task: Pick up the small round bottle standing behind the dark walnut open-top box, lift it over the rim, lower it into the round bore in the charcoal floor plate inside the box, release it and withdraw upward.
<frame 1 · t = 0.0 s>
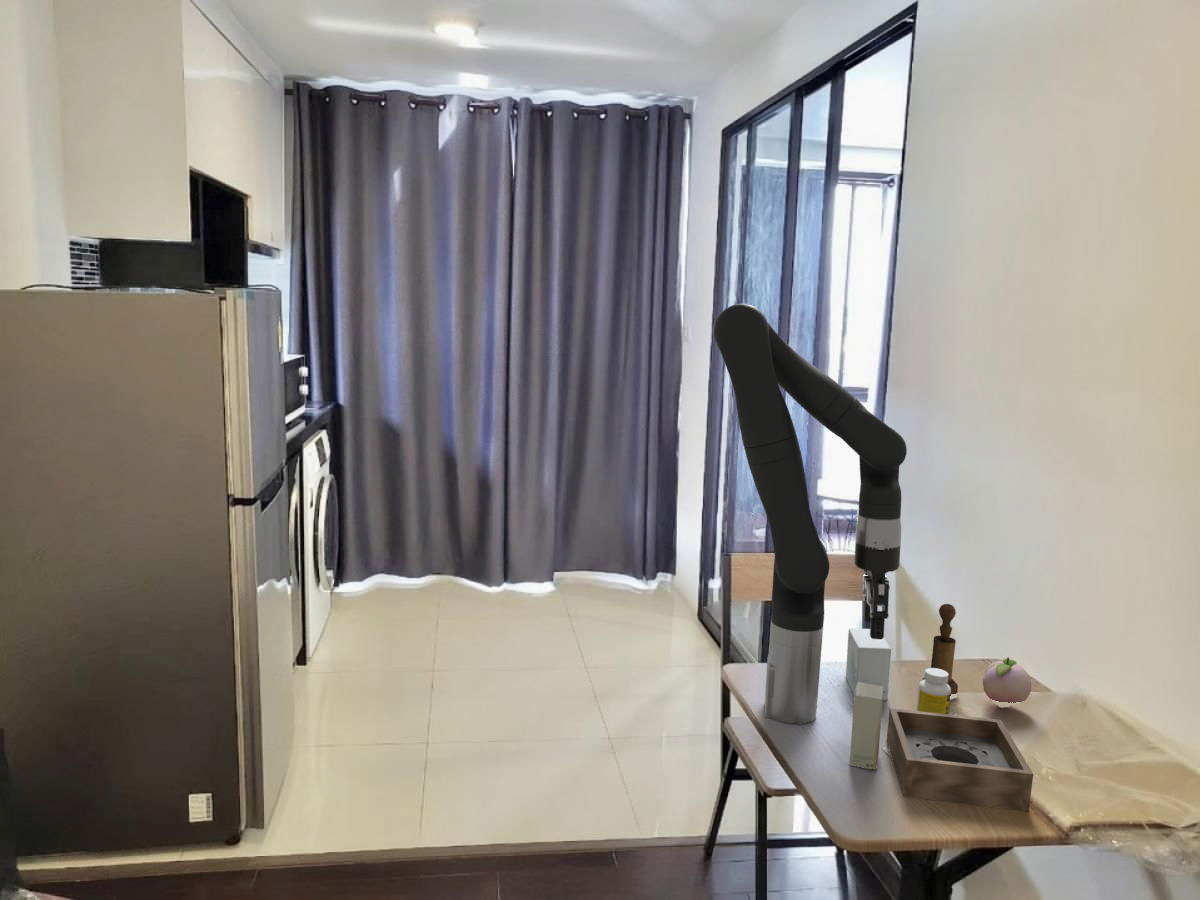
hand: (873, 629, 159), 17 cm above the table, tool pointing down, fingers open, 8 cm apart
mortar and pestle: (938, 694, 174), on the table
supplement bottle: (931, 724, 161), on the table
skincare box: (863, 761, 147), on the table
bore box: (952, 773, 144), on the table
skincare box 2: (865, 689, 176), on the table
decorative fruit: (1004, 709, 169), on the table
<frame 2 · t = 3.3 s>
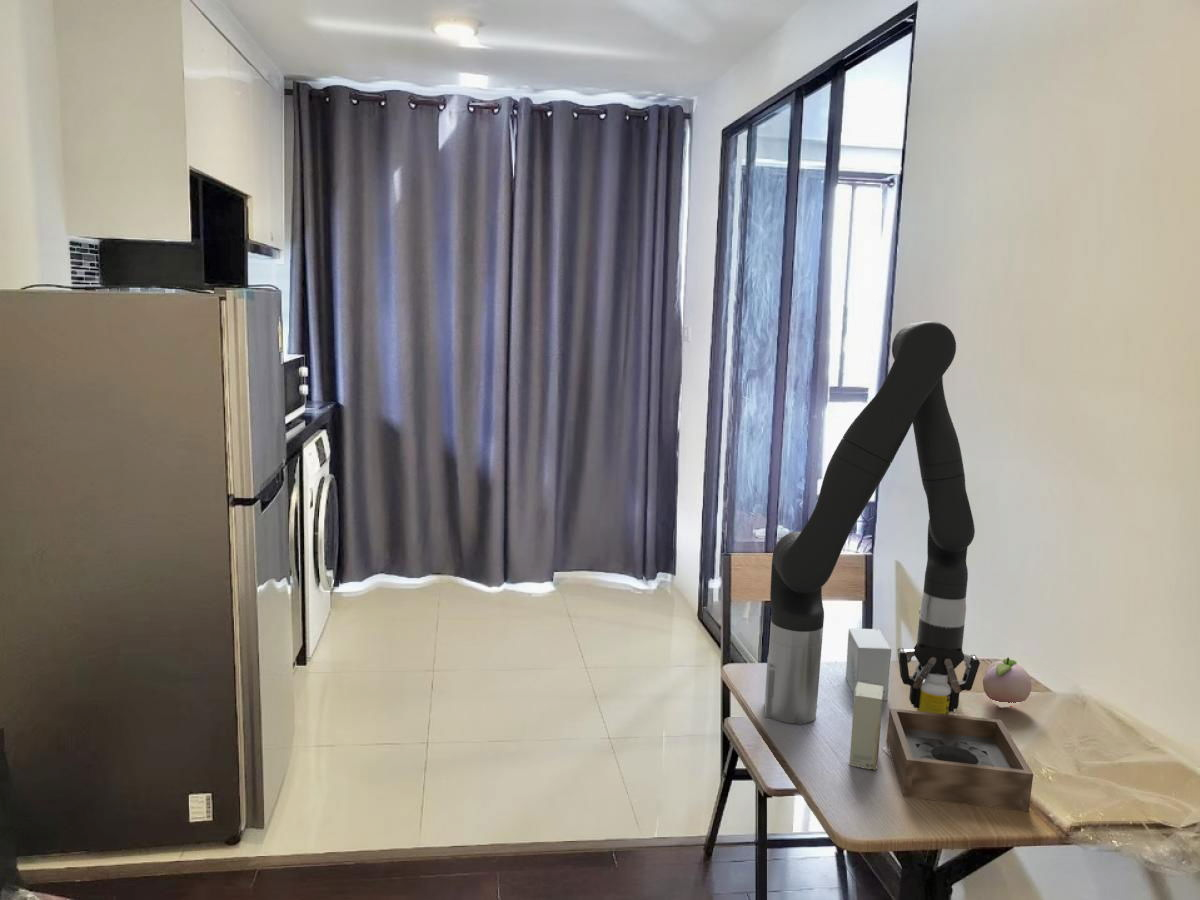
hand: (933, 707, 161), 3 cm above the table, tool pointing down, fingers closed on supplement bottle, 5 cm apart
supplement bottle: (931, 724, 161), on the table, touching gripper
everything else where it was.
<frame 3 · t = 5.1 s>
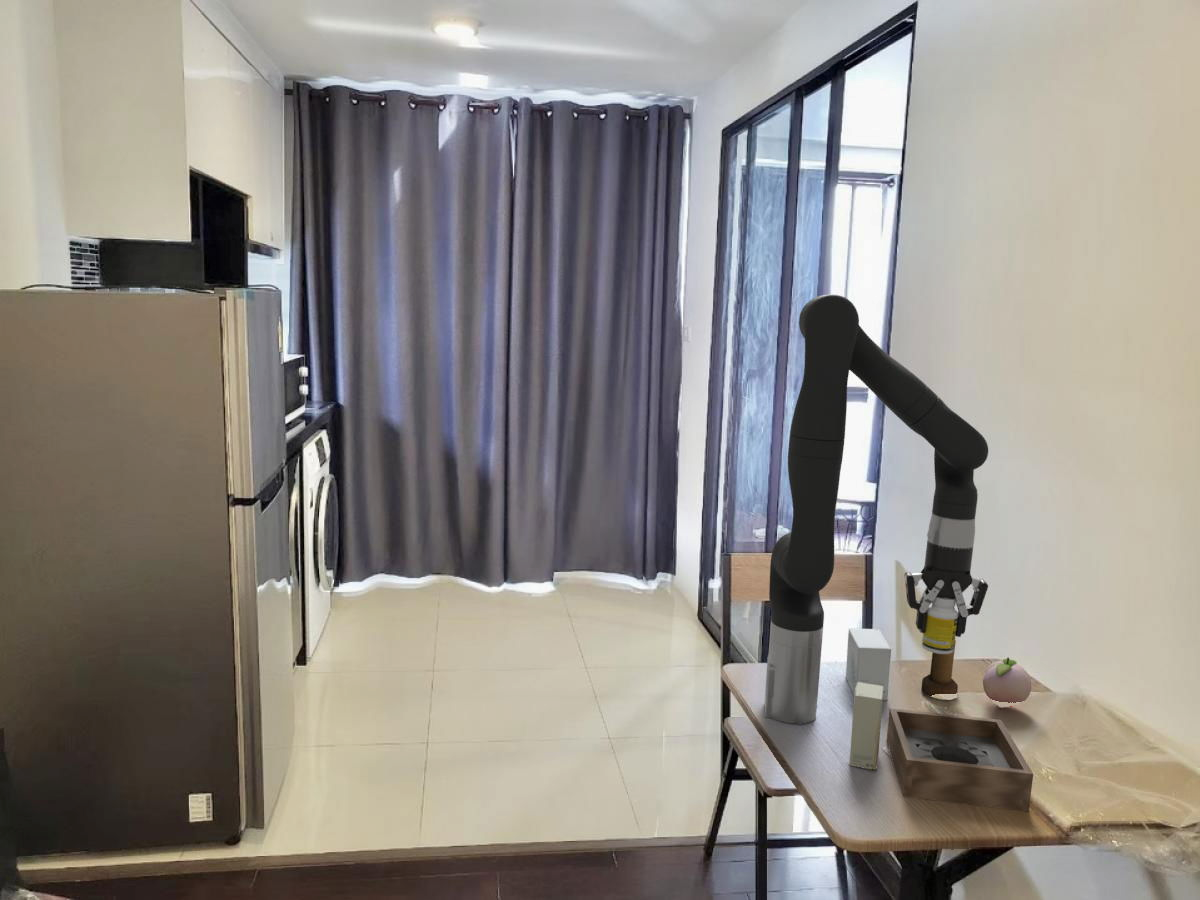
hand: (939, 633, 159), 17 cm above the table, tool pointing down, fingers closed on supplement bottle, 5 cm apart
supplement bottle: (937, 650, 159), point 14 cm above the table, touching gripper
everything else where it was.
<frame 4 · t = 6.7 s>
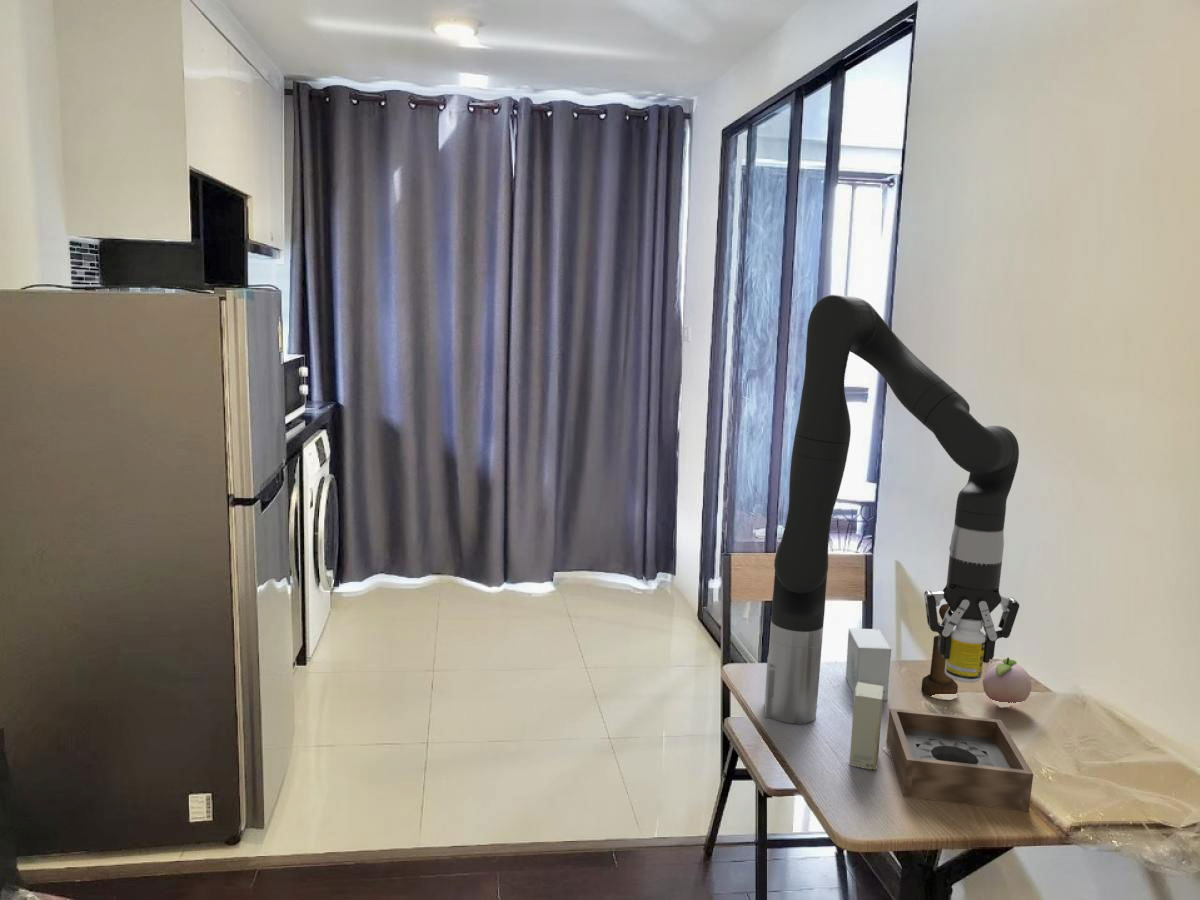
hand: (964, 658, 141), 19 cm above the table, tool pointing down, fingers closed on supplement bottle, 5 cm apart
supplement bottle: (962, 677, 142), point 16 cm above the table, touching gripper
everything else where it was.
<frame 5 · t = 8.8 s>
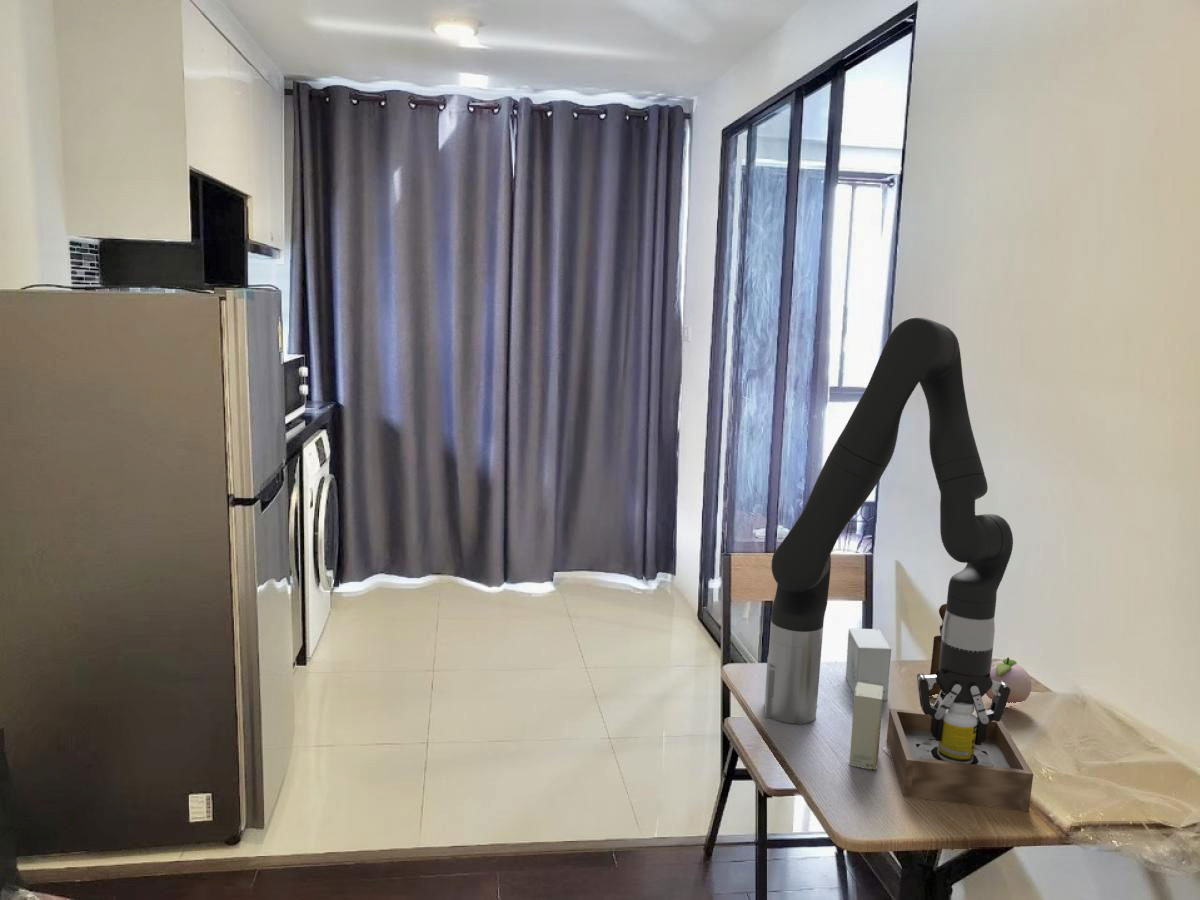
hand: (957, 740, 143), 6 cm above the table, tool pointing down, fingers closed on supplement bottle, 5 cm apart
supplement bottle: (954, 759, 144), point 2 cm above the table, touching gripper
everything else where it was.
when the fingers open (4 cm above the table, at t = 10.3 s): supplement bottle stays where it is, resting in bore box.
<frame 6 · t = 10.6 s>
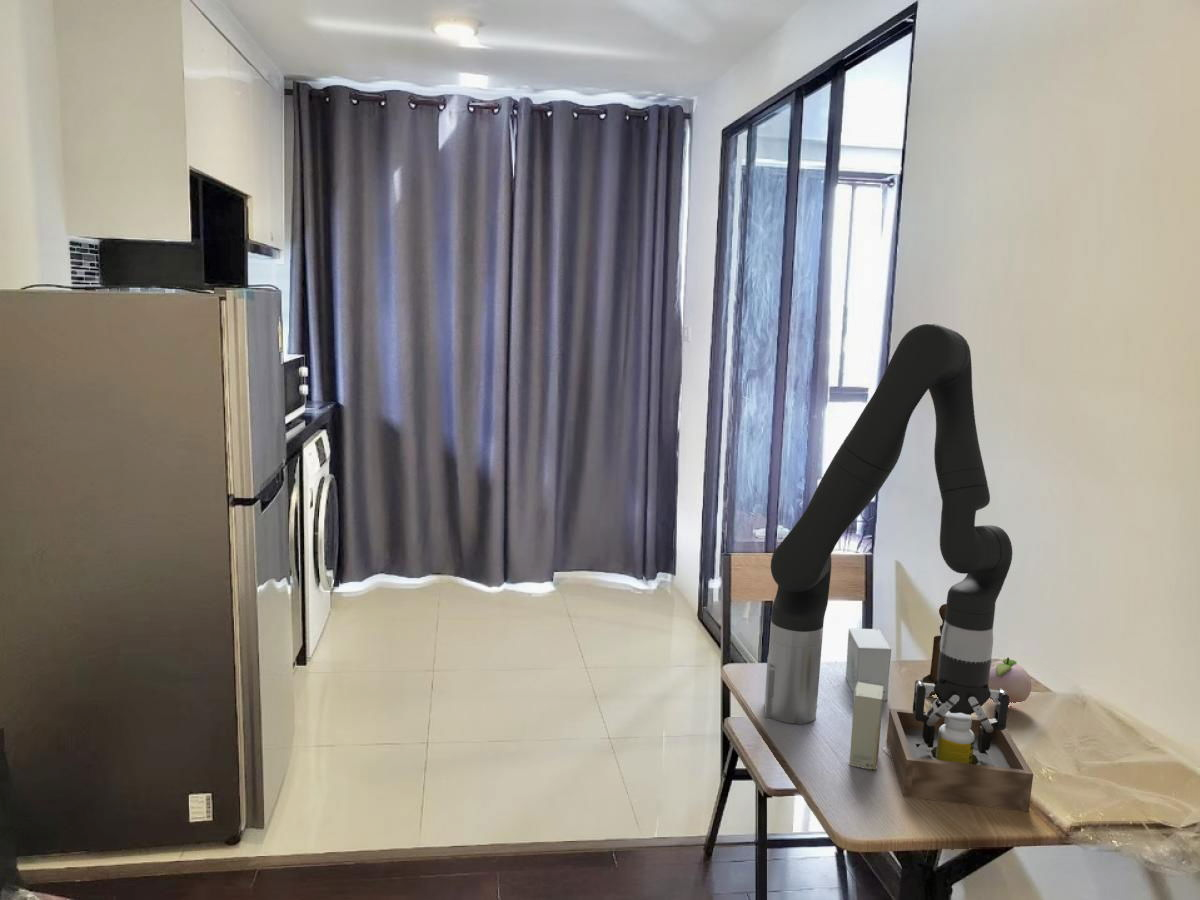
hand: (955, 748, 143), 4 cm above the table, tool pointing down, fingers open, 7 cm apart
supplement bottle: (952, 774, 144), resting in bore box
everything else where it was.
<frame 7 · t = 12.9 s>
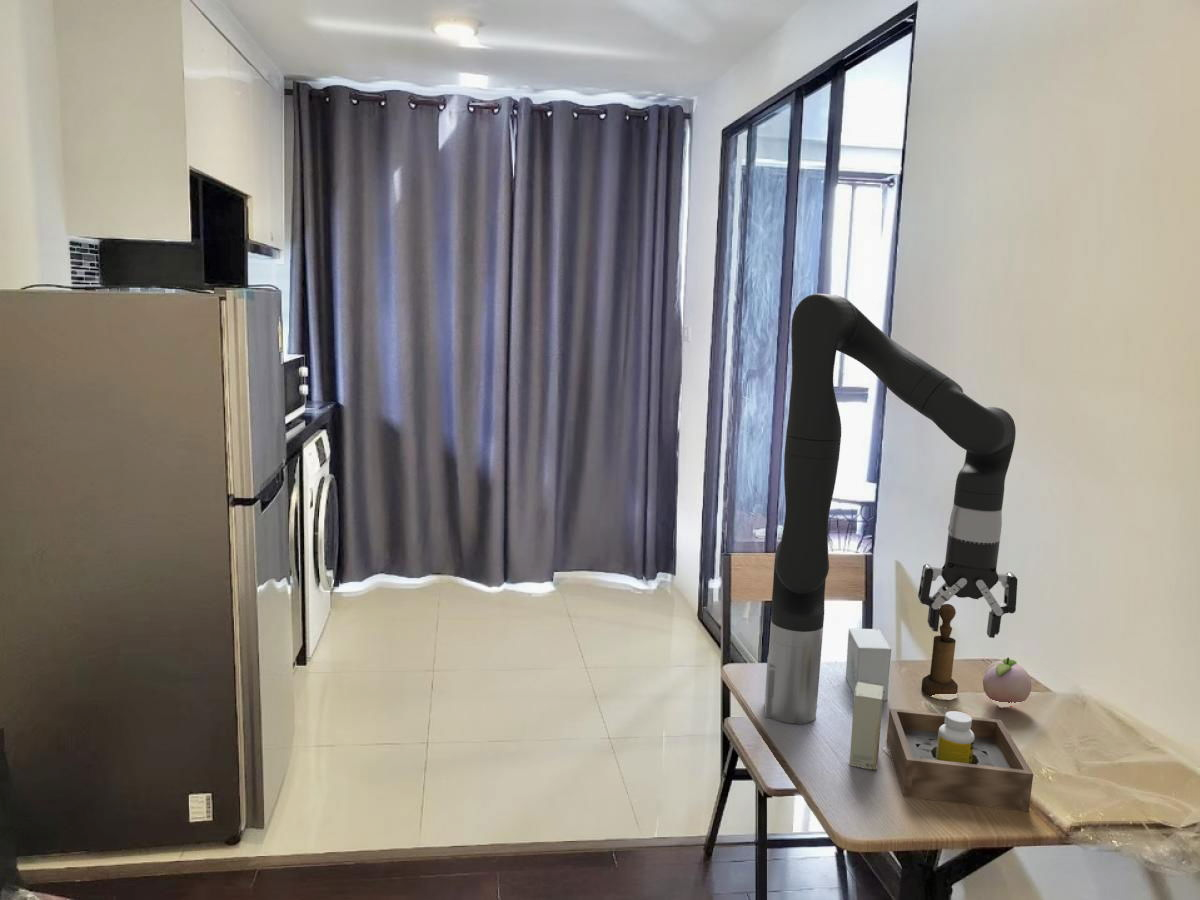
hand: (962, 633, 143), 23 cm above the table, tool pointing down, fingers open, 8 cm apart
nothing on the table moved.
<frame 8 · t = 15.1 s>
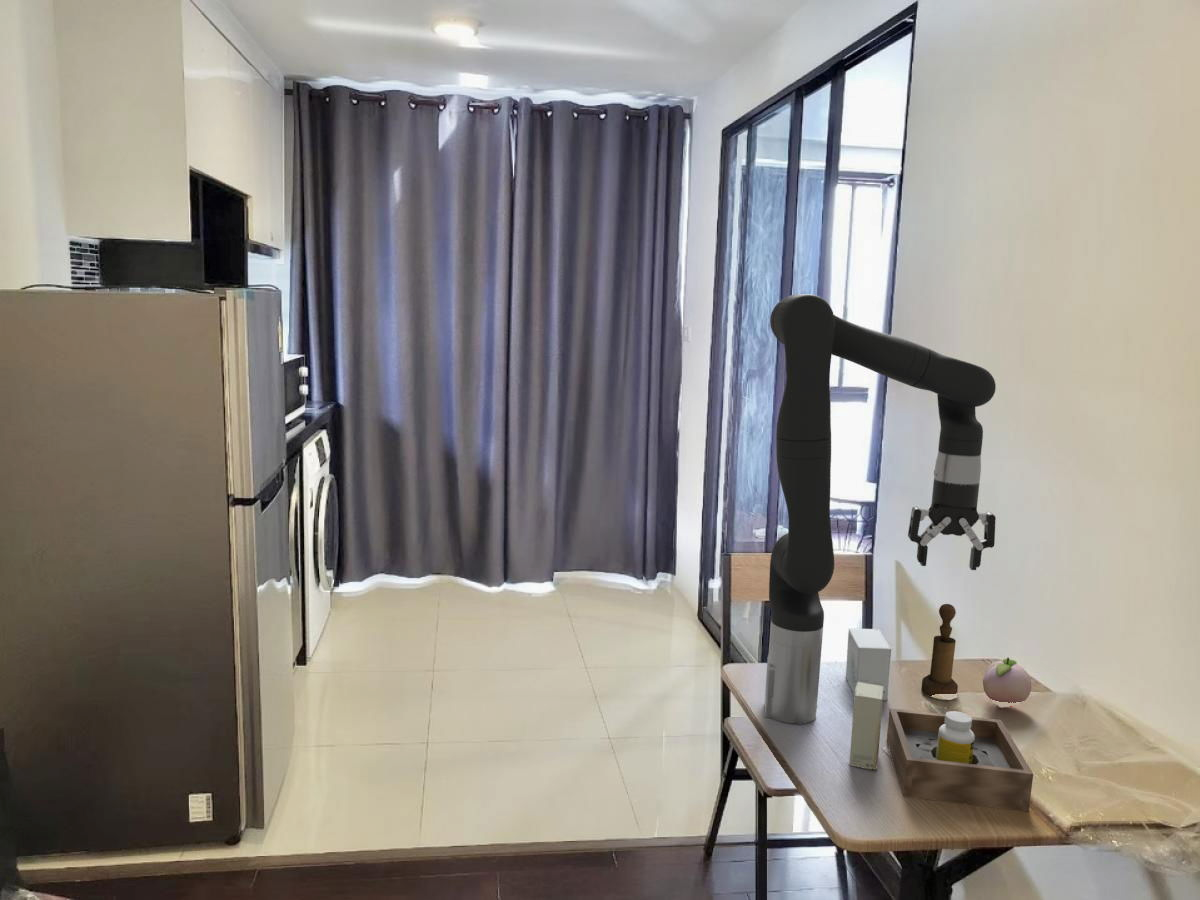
hand: (947, 567, 161), 28 cm above the table, tool pointing down, fingers open, 8 cm apart
nothing on the table moved.
at the end: supplement bottle 0.1 cm from the bore box (horizontally); supplement bottle resting in bore box; supplement bottle tilted 0° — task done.
